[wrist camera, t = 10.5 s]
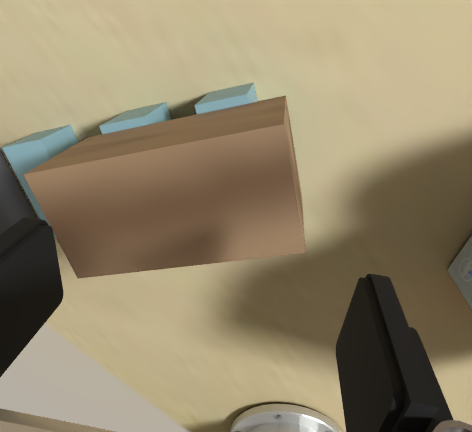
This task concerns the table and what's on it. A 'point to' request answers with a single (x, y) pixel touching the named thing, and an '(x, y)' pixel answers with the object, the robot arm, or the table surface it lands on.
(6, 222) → the block
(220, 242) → the slab
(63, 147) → the batten
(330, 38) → the table surface
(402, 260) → the table surface
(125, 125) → the block
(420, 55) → the table surface
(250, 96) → the block
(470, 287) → the hard drive box
